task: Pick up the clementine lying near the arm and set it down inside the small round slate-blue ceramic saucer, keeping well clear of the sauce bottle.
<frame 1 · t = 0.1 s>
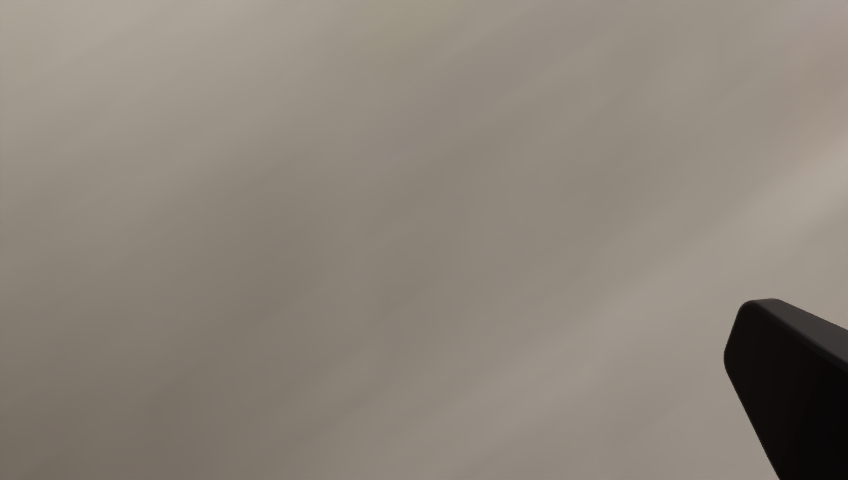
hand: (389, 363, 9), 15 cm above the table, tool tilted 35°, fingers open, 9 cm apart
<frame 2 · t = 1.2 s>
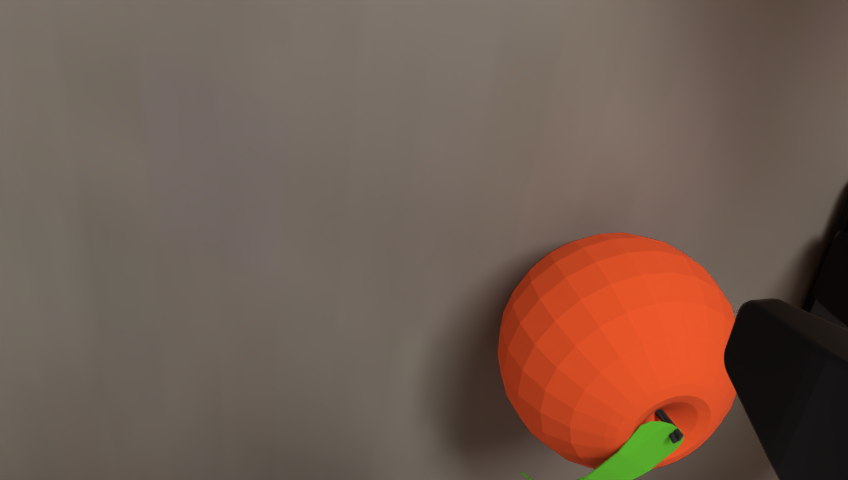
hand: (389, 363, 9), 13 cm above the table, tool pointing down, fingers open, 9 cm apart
clementine: (556, 291, 27), on the table
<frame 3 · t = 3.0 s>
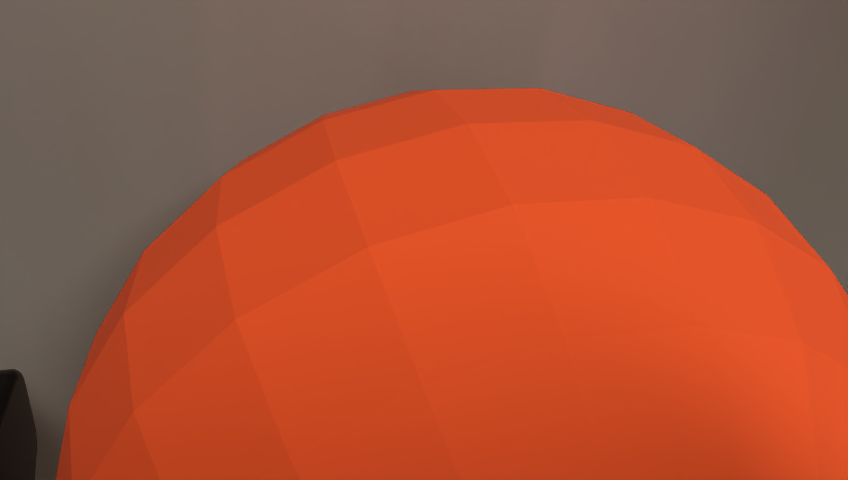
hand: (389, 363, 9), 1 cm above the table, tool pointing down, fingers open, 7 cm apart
clementine: (361, 285, 10), on the table, touching gripper
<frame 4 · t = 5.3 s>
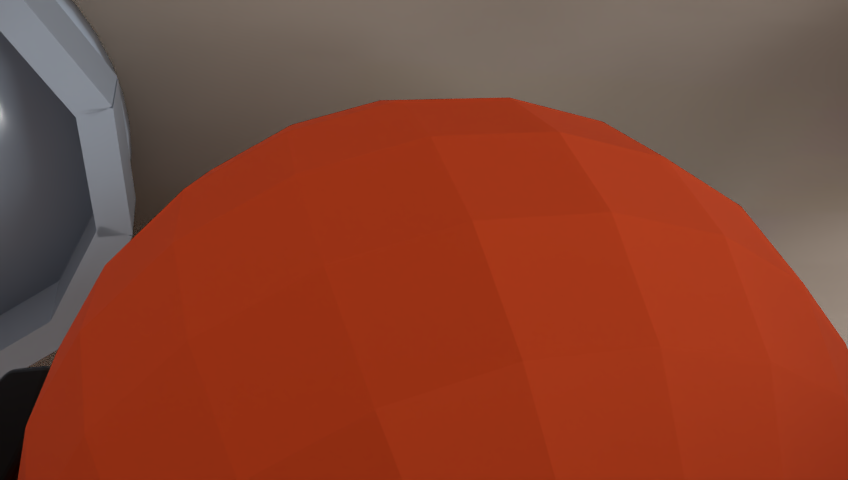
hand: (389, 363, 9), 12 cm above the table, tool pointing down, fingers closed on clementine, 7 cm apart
clementine: (339, 293, 10), point 10 cm above the table, touching gripper
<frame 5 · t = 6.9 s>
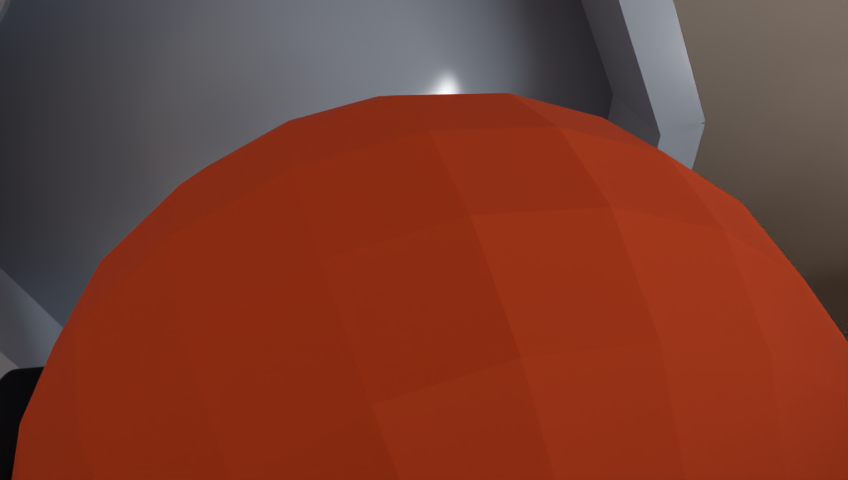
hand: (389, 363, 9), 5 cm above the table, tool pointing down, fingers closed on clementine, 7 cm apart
saucer: (311, 149, 14), on the table
clementine: (337, 291, 10), point 4 cm above the table, touching gripper
when the fingers open (4 cm above the table, at t = 7.7 s): clementine drops 2 cm, resting on saucer.
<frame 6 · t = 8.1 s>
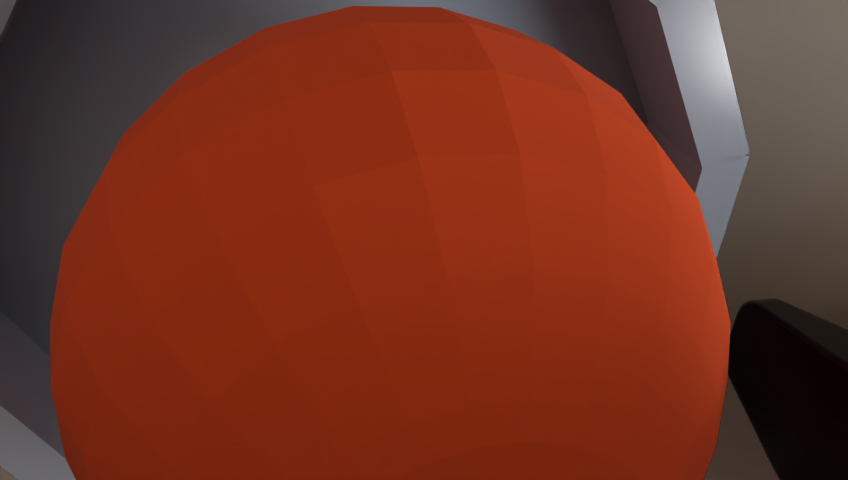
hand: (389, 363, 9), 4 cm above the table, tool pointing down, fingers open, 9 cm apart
saucer: (326, 179, 13), on the table
clementine: (319, 204, 12), point 1 cm above the table, touching saucer
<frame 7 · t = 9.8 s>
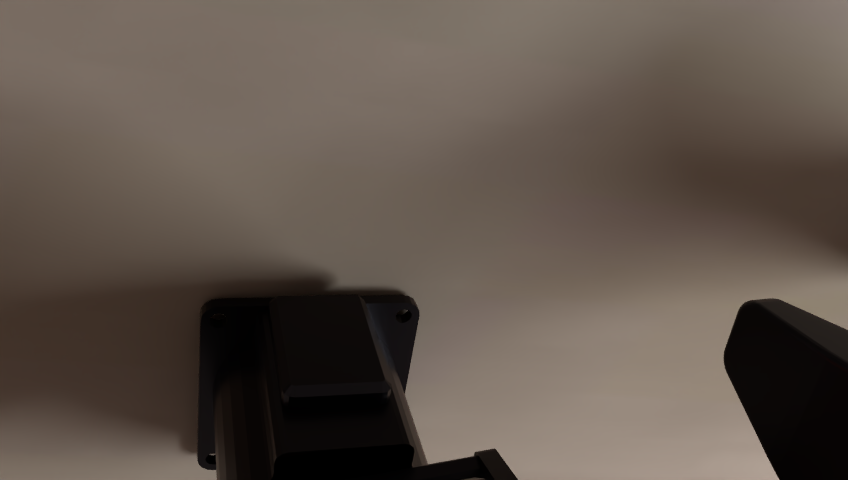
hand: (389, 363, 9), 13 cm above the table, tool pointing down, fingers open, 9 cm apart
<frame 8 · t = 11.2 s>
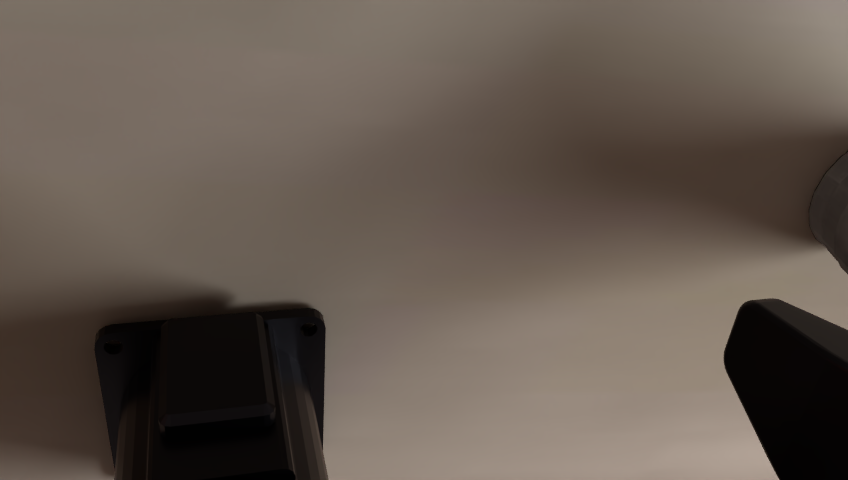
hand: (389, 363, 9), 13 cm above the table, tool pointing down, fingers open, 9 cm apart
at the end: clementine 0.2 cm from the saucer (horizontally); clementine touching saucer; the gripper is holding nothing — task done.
